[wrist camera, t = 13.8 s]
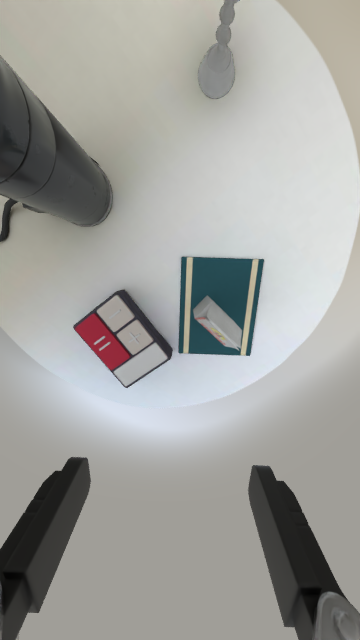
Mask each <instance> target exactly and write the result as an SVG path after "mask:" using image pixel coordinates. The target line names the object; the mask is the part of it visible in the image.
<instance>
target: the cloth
mask: <svg viewBox="0 0 360 640" xmlns="http://www.w3.org/2000/svg"><path fill="white" fill-rule="evenodd" d="M263 262H264V259H233V258H201V257H182V264H181V295H180V327H179V353H190V354H218V355H244V356H245V355H246V356H250V353H251V346H252V339H253V332H254V325H255V318H256V311H257V304H258V297H259V290H260V283H261V276H262V269H263ZM207 295H208V296H209V297H210V298H211V299H212V300H213V301H214V302H215V303H216V304H217V305H218V306H219V307H220V308H221V309H222V310H223V311H224V312H225V313H226V314H227V315H228V316H229V317H230V318H231V319H232V320H233V321H234V322H235V323H236V324H237V325H238V326H239V328H240V329H241V330H242V335H241V348H239V347H237V348H238V349H239V350H238V349H235V348H232V347H226V346H224V345H223V344H222V343H221V342H220V341H219V340H217V339H216V338H215V337H214V336H213V335H212V334H211V333H210V332H209V331H208V330H207V329H206V328H205V327H203V326H202V325H201V324H200V323H199V322H198V321H197V320H196V319H195V318H194V313H193V309H194V308H195V307H196V306H197V305H198V304H199V303H200V302H201V301H202V300H203V299H204V298H205V297H206V296H207Z"/></svg>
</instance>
